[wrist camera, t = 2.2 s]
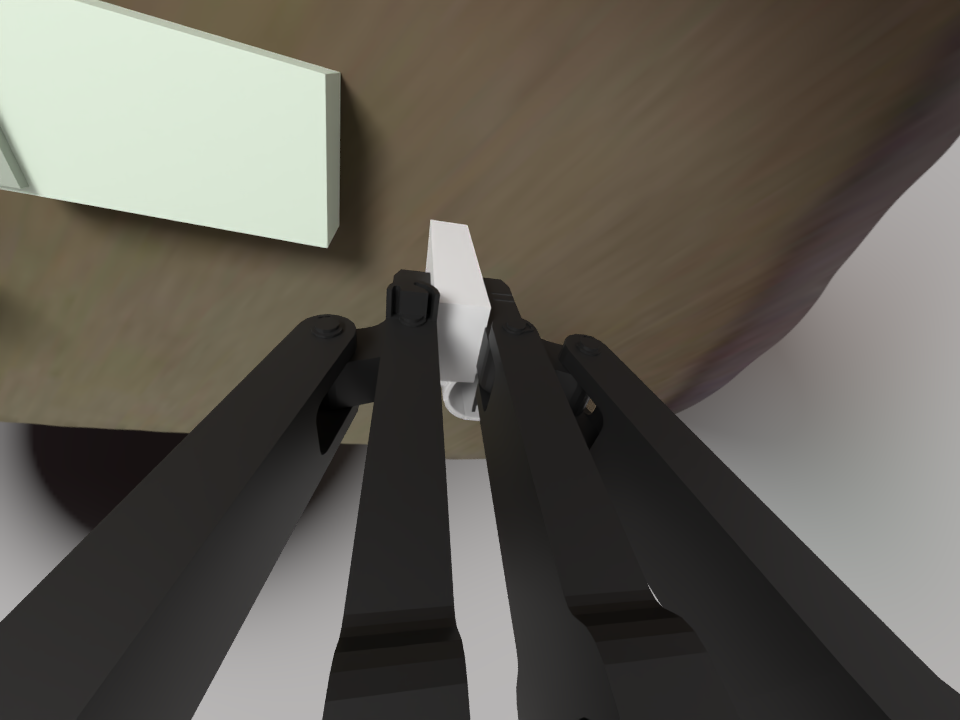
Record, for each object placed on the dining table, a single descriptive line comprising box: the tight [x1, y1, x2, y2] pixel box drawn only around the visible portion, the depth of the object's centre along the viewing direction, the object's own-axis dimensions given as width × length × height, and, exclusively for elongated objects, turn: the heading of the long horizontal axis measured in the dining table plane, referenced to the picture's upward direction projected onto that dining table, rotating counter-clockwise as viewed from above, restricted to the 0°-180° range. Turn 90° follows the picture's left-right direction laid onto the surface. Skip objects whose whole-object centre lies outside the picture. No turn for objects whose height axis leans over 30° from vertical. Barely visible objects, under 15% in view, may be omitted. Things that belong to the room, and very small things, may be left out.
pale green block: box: [0, 0, 341, 248], centre depth 22 cm, size 10×20×6 cm, turn 76°
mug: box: [440, 371, 480, 421], centre depth 32 cm, size 8×12×12 cm, turn 62°
